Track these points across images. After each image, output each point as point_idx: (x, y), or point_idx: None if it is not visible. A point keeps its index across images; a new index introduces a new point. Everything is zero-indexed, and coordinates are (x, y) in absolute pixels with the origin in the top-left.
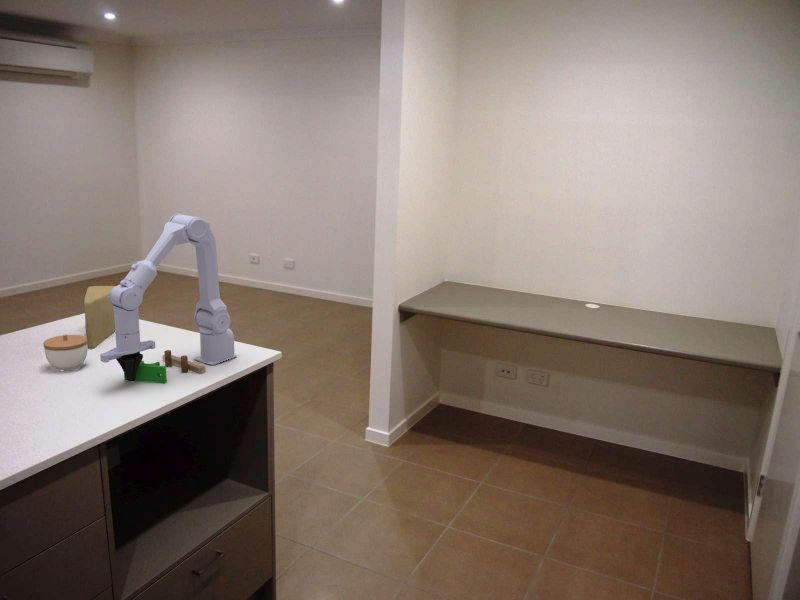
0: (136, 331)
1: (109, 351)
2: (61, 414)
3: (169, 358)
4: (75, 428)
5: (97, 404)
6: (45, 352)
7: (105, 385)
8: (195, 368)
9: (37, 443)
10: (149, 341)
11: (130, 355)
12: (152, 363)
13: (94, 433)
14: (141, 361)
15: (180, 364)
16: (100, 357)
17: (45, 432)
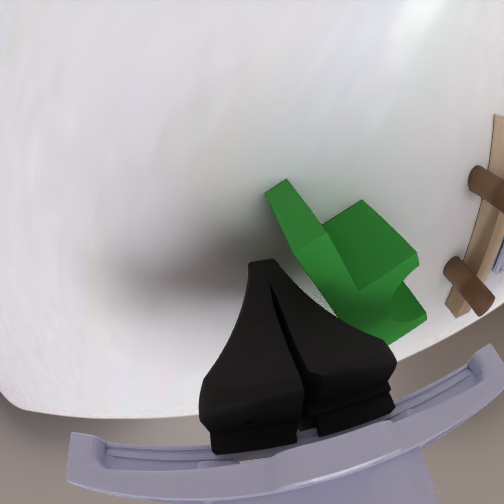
0: None
1: (136, 496)
2: (12, 335)
3: (499, 210)
4: (55, 391)
5: (88, 345)
6: None
7: (144, 199)
8: (459, 300)
9: (14, 386)
10: (500, 383)
11: (307, 426)
12: (400, 324)
13: (89, 414)
14: (406, 267)
15: (483, 230)
16: (68, 457)
17: (11, 371)
